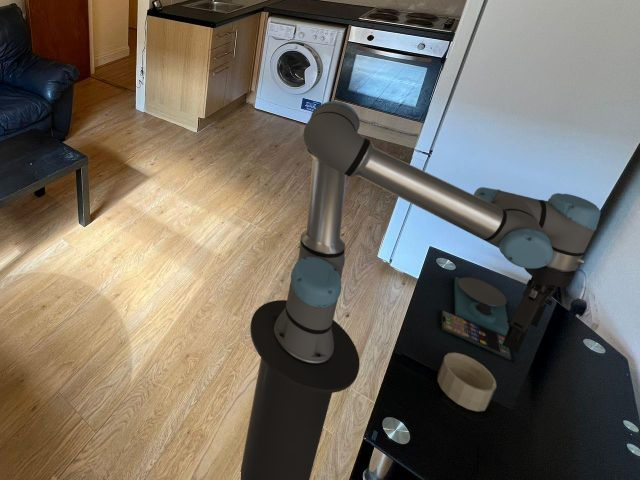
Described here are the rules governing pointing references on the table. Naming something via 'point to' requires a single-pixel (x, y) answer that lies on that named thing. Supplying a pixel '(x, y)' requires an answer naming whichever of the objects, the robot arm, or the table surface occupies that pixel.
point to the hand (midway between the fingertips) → (520, 335)
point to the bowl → (466, 381)
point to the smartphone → (475, 334)
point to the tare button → (484, 308)
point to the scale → (468, 311)
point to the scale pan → (482, 292)
